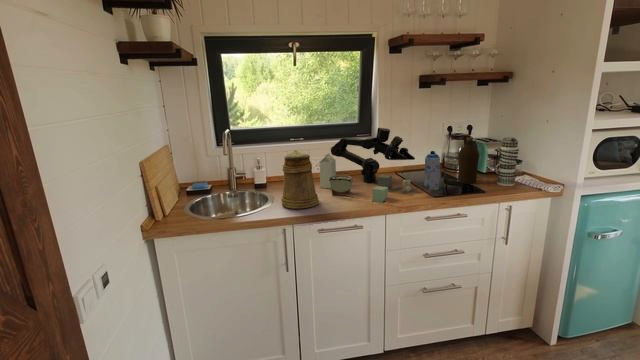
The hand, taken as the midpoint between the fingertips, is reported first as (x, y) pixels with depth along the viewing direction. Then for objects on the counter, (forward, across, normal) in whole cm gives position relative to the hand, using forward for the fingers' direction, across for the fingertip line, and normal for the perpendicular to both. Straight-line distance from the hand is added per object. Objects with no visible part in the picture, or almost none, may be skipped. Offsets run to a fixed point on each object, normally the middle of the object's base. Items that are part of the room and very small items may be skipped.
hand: (410, 158), depth 178 cm
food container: (-21, -20, +28) cm, 40 cm away
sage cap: (0, -18, +22) cm, 28 cm away
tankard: (-30, -41, +34) cm, 61 cm away
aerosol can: (+10, +16, +13) cm, 23 cm away
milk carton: (-37, -12, +30) cm, 49 cm away
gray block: (-7, -3, +19) cm, 21 cm away
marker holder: (-1, -2, +19) cm, 19 cm away
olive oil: (+20, +37, +7) cm, 43 cm away
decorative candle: (+38, +43, +1) cm, 57 cm away
